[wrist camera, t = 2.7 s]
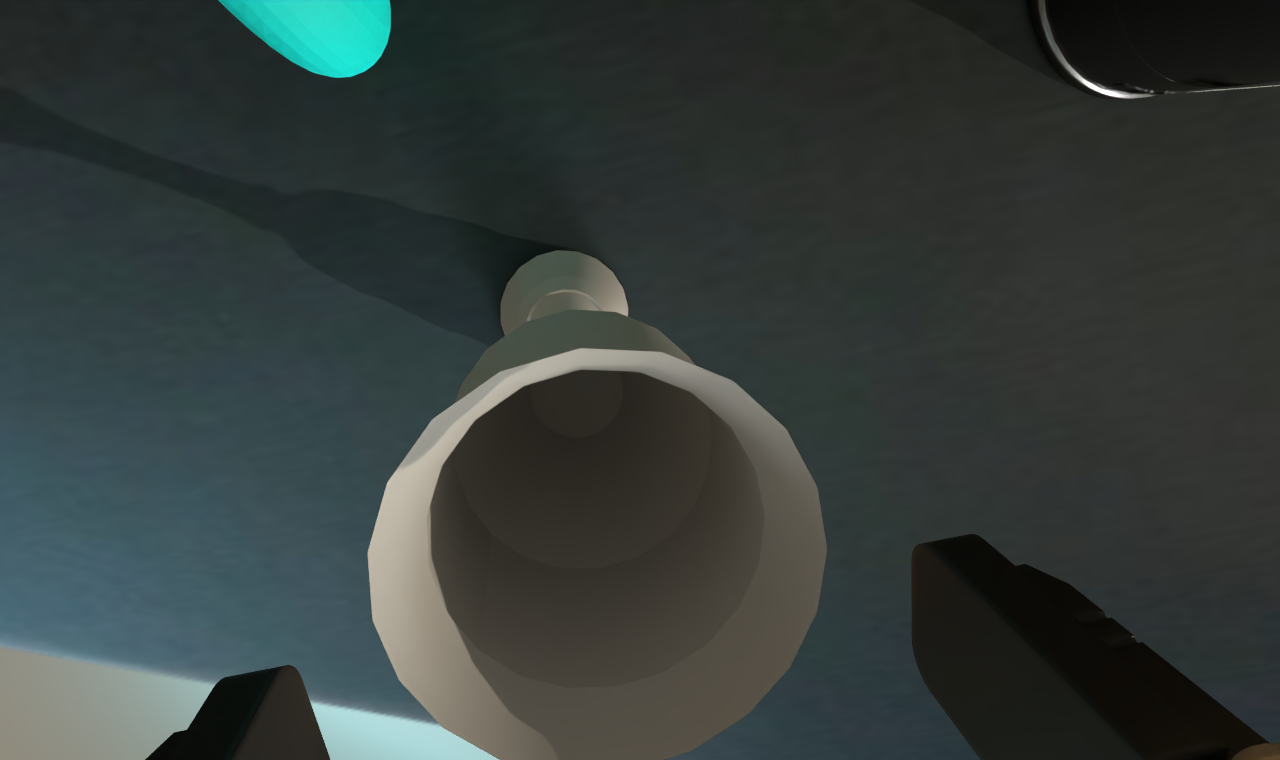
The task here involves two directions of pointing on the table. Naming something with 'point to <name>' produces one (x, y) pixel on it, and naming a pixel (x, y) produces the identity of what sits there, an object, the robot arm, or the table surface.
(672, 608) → the chalice
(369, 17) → the turquoise spool
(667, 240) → the table surface
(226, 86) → the table surface
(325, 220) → the table surface
